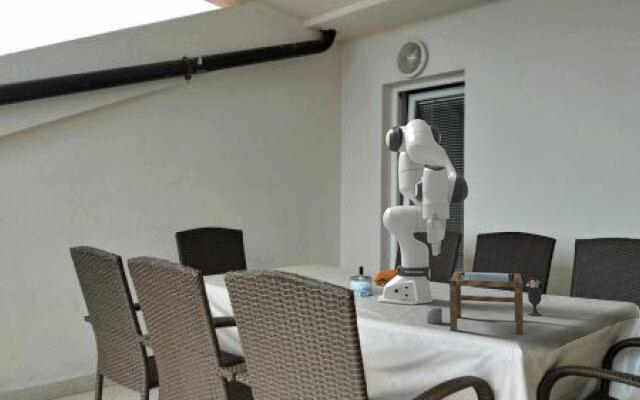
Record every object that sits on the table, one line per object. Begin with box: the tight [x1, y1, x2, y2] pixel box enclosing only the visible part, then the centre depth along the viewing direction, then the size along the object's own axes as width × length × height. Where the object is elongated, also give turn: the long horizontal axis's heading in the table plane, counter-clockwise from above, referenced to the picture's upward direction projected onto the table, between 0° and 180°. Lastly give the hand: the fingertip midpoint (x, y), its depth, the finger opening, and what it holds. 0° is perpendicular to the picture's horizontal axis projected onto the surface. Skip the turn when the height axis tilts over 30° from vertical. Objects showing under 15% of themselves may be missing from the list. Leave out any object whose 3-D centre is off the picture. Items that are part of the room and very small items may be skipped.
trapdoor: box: [462, 271, 510, 281], centre depth 197 cm, size 14×18×2 cm
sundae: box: [524, 272, 545, 317], centre depth 212 cm, size 7×7×15 cm
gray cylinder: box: [426, 306, 443, 325], centre depth 201 cm, size 5×5×5 cm
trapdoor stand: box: [449, 271, 524, 335], centre depth 196 cm, size 22×22×16 cm
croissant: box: [374, 269, 398, 286], centre depth 289 cm, size 14×16×8 cm
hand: (436, 254), depth 200 cm, fingers open, 5 cm apart
